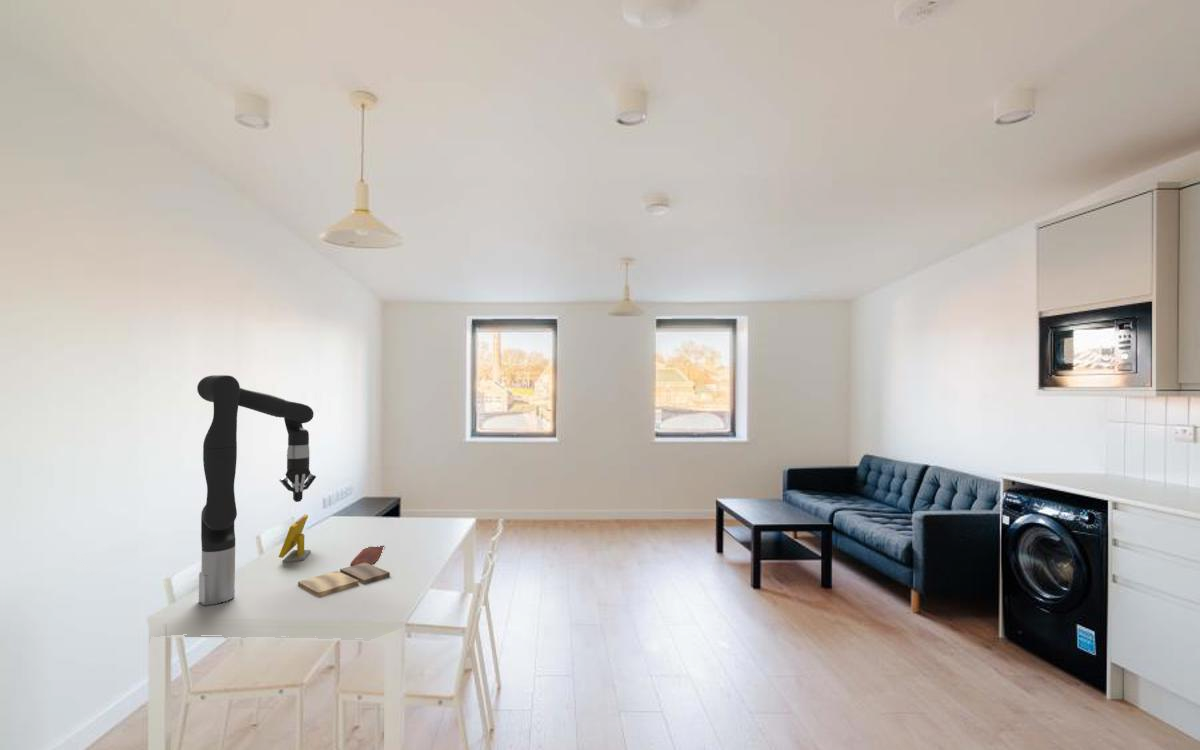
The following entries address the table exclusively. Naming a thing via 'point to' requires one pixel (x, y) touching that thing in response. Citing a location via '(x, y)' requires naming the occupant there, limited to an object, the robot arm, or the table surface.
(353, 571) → the walnut board
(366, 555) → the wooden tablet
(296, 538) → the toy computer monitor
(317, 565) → the table surface
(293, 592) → the table surface
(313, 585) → the light wood board
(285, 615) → the table surface
